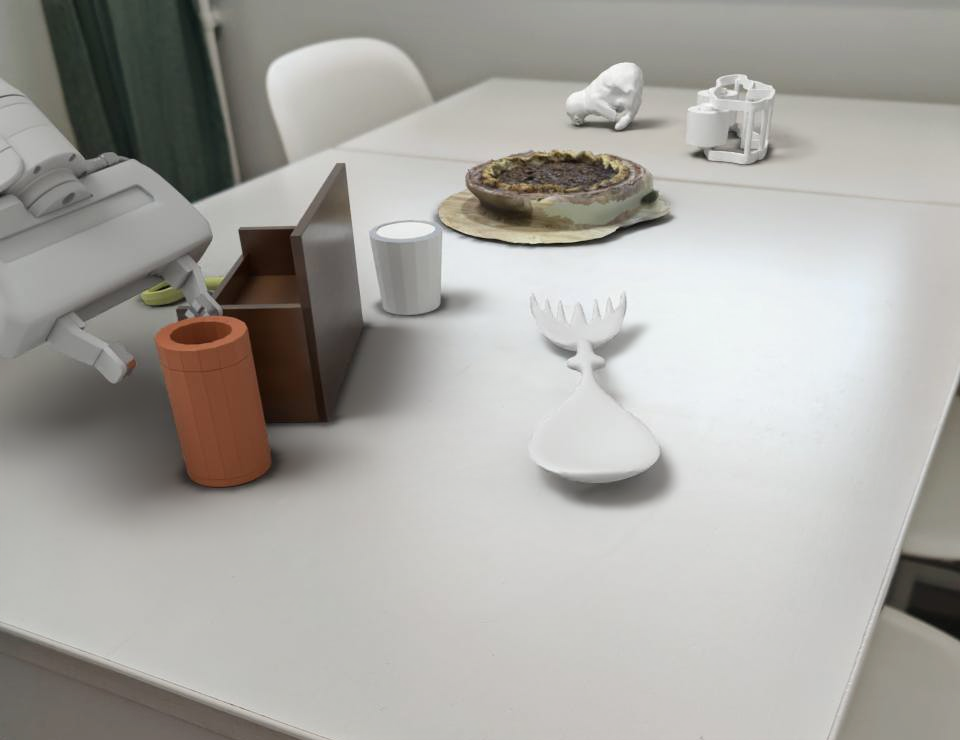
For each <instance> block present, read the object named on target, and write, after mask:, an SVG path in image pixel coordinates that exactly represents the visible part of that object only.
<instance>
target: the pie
mask: <svg viewBox="0 0 960 740" xmlns="http://www.w3.org/2000/svg"><path fill="white" fill-rule="evenodd" d="M464 177H465V178H464V179H465V180H464V183H465V187H466V189H464V190H462V191H459V192H457V193H454V194H452V195H450V196H449V197H447V198H446V199H445V200H444V201H443V202H441V204H440V206H438V218H439V219H440V221H441V222H442V223H443V224H444V225H445V226H447V227H448V228H449V227H450V228H451V229H453V230H455V231H458V232H461V233H463V234H466V235H469V236H473V237H477V238H483V239H489V240H490V239H494V240H499V241H500V240H501V241H502V242H507V243H513V244H517V243H518V244H530V245H535V244H555V243H557V244H558V243H559V244H560V243H565V244H566V243H567V244H568V243H576V242H577V243H578V242H583V241H589V240H594V239H601V238H603V237H606V236H608V235H611V234H612V233H614V232H616V230H617V229H619V228H627V227H630V226H633V225H635V224H638V223H640V222H641V223H642V222H646V221H652V220H655V219H658V218H661V217H664V216H665V215H667V214H668V213H669V212H670V211H671V207H670V206H669V205H668V204H665V201H664V200H661V199H660V192H659V190H655V189H654V175H653V174H652V172H651V171H649V170H648V169H647V168H646V167H644V166H643V165H641V164H639V163H637V162H634V161H633V160H631V159H628V158H626V157H623V156H619V155H616V154H612V153H599V154H594V153H593V152H592V151H591V150H581V151H579V152H577V153H576V152H575V151H572V150H571V149H567V150H562V151H560V150H558V149H551V150H550V151H549V152H547V151H546V150H544V151H539V150H538V151H534V150H533V149H529V150H528V151H523V152H517V153H512V154H510V155H507V156H504V157H502V158H499V159H496V160H495V159H493V158H491V159H488V160H487V161H486V162H481V163H478V164H476V165H474V166H471V168H467V172H466V173H465V176H464Z"/></svg>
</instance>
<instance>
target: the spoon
mask: <svg viewBox="0 0 960 740" xmlns="http://www.w3.org/2000/svg"><path fill="white" fill-rule="evenodd" d="M529 298H530V300H529V306H530V311H531V314H532V317H533V319H534V322H535V324H536V326H537V329H538V330H539V331H540V333H541V334H542V335H543V336H544V338H546V339H547V340H548V341H549V342H550V343H553V344H555V345H556V346H558V347H559V348H562V349H565V350H568V351H572V352H576V353H575V355H574V356H572V357H569V358H568V359H567V360H566V362H565V364H566V367H567V368H568V369H570V370H572V371H576V372H578V373H580V380H579V382H578V385H577V387H576V388H575V389H574V391H573V392H572V393H571V394H570V395H569V396H568V397H566V399H564V400H563V401H562V402H561V403H560V404H558V406H557V407H556V408H555V409H554V410H553V411H551V412H550V413H549V414H548V415H547V416H546V417H545V418H543V420H541V421H540V423H538V424H537V426H536V427H535V429H534V430H533V432H532V434H531V437H530V438H529V439H530V440H529V442H528V454H529V456H530V458H531V460H532V461H533V462H534V463H535V464H536V465H537V466H538V467H540V468H541V469H542V470H544V471H545V472H548V473H550V474H551V475H554V476H556V477H560V478H563V479H564V480H565V479H566V480H569V481H575V482H580V483H585V484H588V483H589V484H604V483H605V484H607V483H613V482H614V483H615V482H619V481H624V480H626V479H629V478H632V477H635V476H637V475H639V474H641V473H643V472H645V471H647V470H649V469H650V468H651V467H652V466H653V465H654V464H655V463H656V462H657V461H658V460H659V458H660V455H661V448H660V445H659V443H658V441H657V438H656V437H655V434H654V433H653V432H652V430H651V429H650V428H649V426H647V424H646V423H645V422H643V421H642V420H641V419H640V418H638V417H637V416H636V415H634V413H632V412H631V411H629V410H628V409H627V408H626V407H624V406H623V405H622V404H620V403H619V402H618V401H617V400H616V399H614V398H613V397H612V396H610V395H609V394H608V393H607V392H606V391H605V390H604V389H603V388H602V386H600V384H599V383H598V381H597V378H596V376H595V372H596V371H599V370H602V369H603V368H605V367H606V365H607V361H606V359H605V358H604V357H602V356H600V355H598V354H595V352H594V350H596V349H598V348H600V347H602V346H604V345H606V344H607V343H609V342H610V341H612V340H613V339H614V338H615V337H616V336H617V334H618V333H619V332H620V331H621V329H622V326H623V324H624V321H625V317H626V312H627V307H628V305H627V302H628V301H627V293H626V291H625V290H622V293H621V294H620V299H619V302H618V306H617V307H615V309H614V307H613V303H612V299H611V297H610V296H608V297H607V299H606V307H605V312H604V316H603V317H602V316H601V312H600V307H599V303H598V300H597V299H595V300H594V301H593V302H594V303H593V309H592V316H591V320H590V323H589V324H588V322H587V319H586V315H585V311H584V308H583V305H582V304H581V303H580V302H579V301H576V303H575V305H574V307H573V311H572V316H571V322H570V323H569V322H568V321H567V319H566V314H565V311H564V306H563V303H562V301H561V300H558V304H557V313H556V314H557V315H556V316H554V314H553V311H552V307H551V305H550V302H549V301H550V300H549V299H548V298H545V303H544V307H543V309H542V308H541V307H540V305H539V304H538V301H537V299H536V295H534V293H531V294H530V297H529Z"/></svg>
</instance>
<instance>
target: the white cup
mask: <svg viewBox="0 0 960 740" xmlns="http://www.w3.org/2000/svg"><path fill="white" fill-rule="evenodd" d="M368 234H369V240H370V246H371V251H372V258H373V262H374V267H375V272H376V279H377V283H378V288H379V289H378V290H379V293H380V297H381V298H380V300H381V305H382V309H383V310H384V311H386V312H387V313H390V314H392V315H393V314H394V315H397V316H416V315H417V316H419V315H423V314H427V313H430V312H432V311H435V310H436V309H438V308H439V307H440V306H441V297H442V295H441V293H442V263H443V262H442V258H443V226H441V225H440V224H438V223H436V222H432V221H427V220H420V219H419V220H417V219H409V220H408V219H406V220H404V219H403V220H394V221H390V222H389V221H388V222H384V223H381V224H379V225H376V226H373V228H371V229H370V230H369V231H368Z"/></svg>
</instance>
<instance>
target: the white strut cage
mask: <svg viewBox="0 0 960 740" xmlns="http://www.w3.org/2000/svg"><path fill="white" fill-rule="evenodd" d="M731 85H734V87H733V89H728V88H727V87H725V86H731ZM741 85H742V88H743V89H744V90H747V92H746V95H745V100H740V92H741V91H740V90H741ZM775 97H776V89H775V88H774V86H773V85H770V84H765V83H763V82H760V81H759V80H758V81H757V80H752V79H748V76H747V75H746V74H743V73H738V74H737V73H736V74H727V75H723V76H720V77H718V78H717V79H716V80H715V86H714V87H713V86H712V87H709V89H704V90H703V89H702V90H699V91H698V92H697V94H696V104H695V105H692V106H689V107H688V108H687V115H686V126H685V135H684V136H685V137H684V143H685V144H686V145H688V146H692V147H697V148H699V149H703V154H704V155H705V157H706V159H707V160H708V161H713V162H726V163H735V164H738V165H750V164H754V163H755V162H757V161H761V160H764V158H765V157H766V155H767V152H768V147H769V143H770V136H771V135H770V134H771V129H772V127H771V126H772V119H773V112H774V111H773V110H774V103H775ZM755 100H757V101H755ZM738 112H743V119H742V120H743V121H742V124H741V123H740V122H737V120H738V119H737V118H738ZM758 112H762V114H761V121H760V130H759V133H758V132H756V131H754V125H755V117H756V113H758ZM729 132H734V133H736V136H737V137H738V138H739V139H740V149H743V153H740V152H734V151H726V150H725V151H724V150H713V149H712V148H715V147H719V146H724V145H726V144H727V143H728V137H729ZM751 150H754V151H752V152H751Z"/></svg>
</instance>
